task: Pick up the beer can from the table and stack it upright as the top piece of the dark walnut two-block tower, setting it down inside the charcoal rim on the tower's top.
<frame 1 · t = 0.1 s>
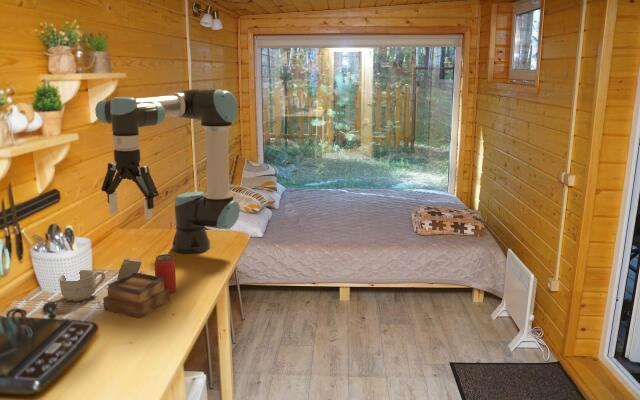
hand: (131, 216, 173), 28 cm above the counter, tool pointing down, fingers open, 13 cm apart
beer can: (166, 291, 187), on the counter
tower base: (137, 305, 175), on the counter
teacup: (84, 297, 181), on the counter
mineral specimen: (130, 281, 195), on the counter
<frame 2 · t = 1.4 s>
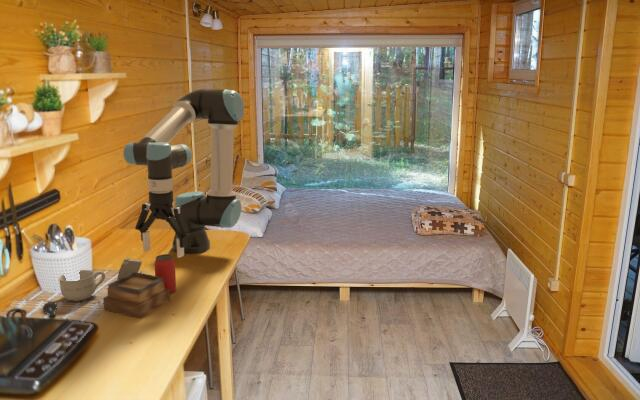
hand: (163, 253, 183), 13 cm above the counter, tool pointing down, fingers open, 13 cm apart
nothing on the counter moved.
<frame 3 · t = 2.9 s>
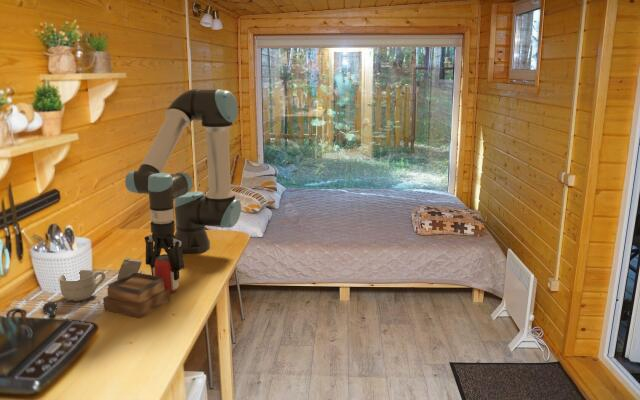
hand: (165, 286, 186), 1 cm above the counter, tool pointing down, fingers closed on beer can, 6 cm apart
beer can: (166, 291, 187), on the counter, touching gripper
everything else where it was.
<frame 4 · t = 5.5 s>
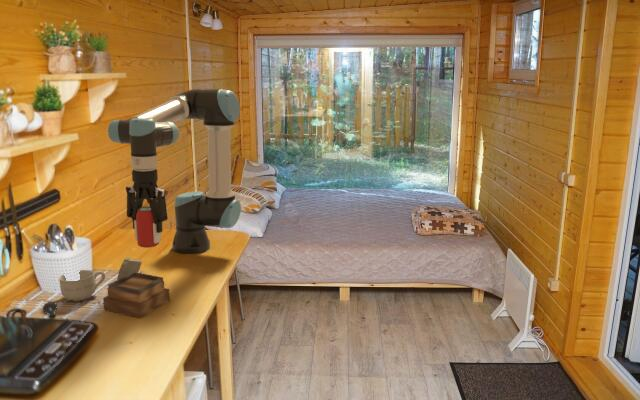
hand: (148, 240, 176), 20 cm above the counter, tool pointing down, fingers closed on beer can, 6 cm apart
beer can: (148, 245, 176), point 18 cm above the counter, touching gripper
everything else where it was.
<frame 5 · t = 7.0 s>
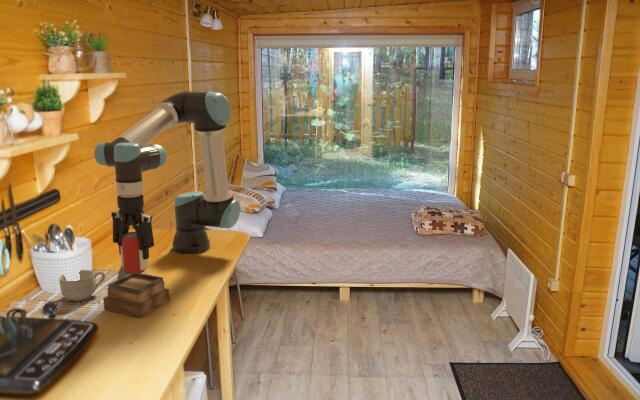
hand: (134, 266, 172), 13 cm above the counter, tool pointing down, fingers closed on beer can, 6 cm apart
beer can: (135, 271, 172), point 11 cm above the counter, touching gripper
everything else where it was.
when the fingers open (10 cm above the counter, at t = 8.2 s): beer can drops 2 cm, resting on tower base.
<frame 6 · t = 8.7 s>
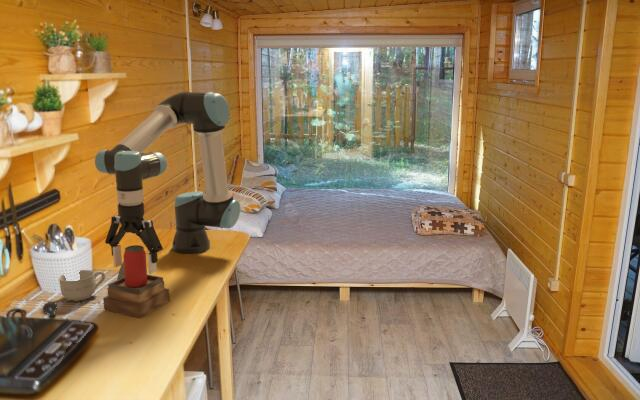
hand: (135, 269, 172), 12 cm above the counter, tool pointing down, fingers open, 13 cm apart
beer can: (136, 285, 174), point 7 cm above the counter, touching tower base
everything else where it was.
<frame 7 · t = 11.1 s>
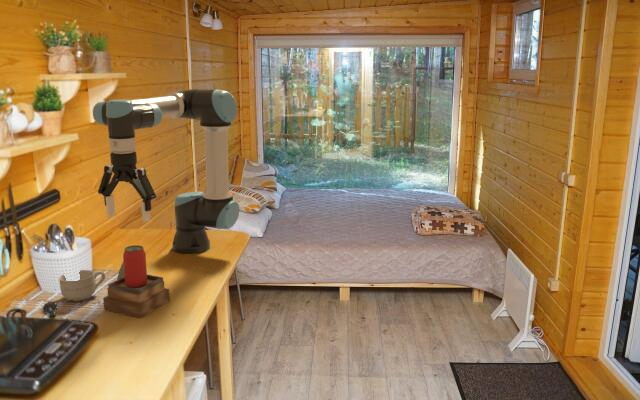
hand: (128, 218, 174), 27 cm above the counter, tool pointing down, fingers open, 13 cm apart
nothing on the counter moved.
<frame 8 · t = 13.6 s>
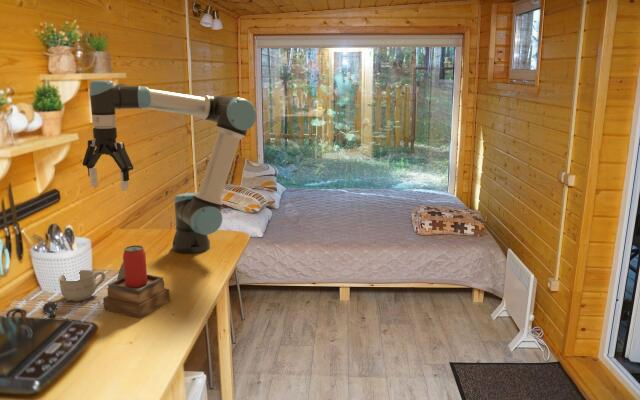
hand: (109, 188, 193), 32 cm above the counter, tool pointing down, fingers open, 13 cm apart
nothing on the counter moved.
at the end: beer can 0.0 cm off-centre on the tower base, point 6.8 cm above the tower base's base; beer can tilted 0°; the gripper is holding nothing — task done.
